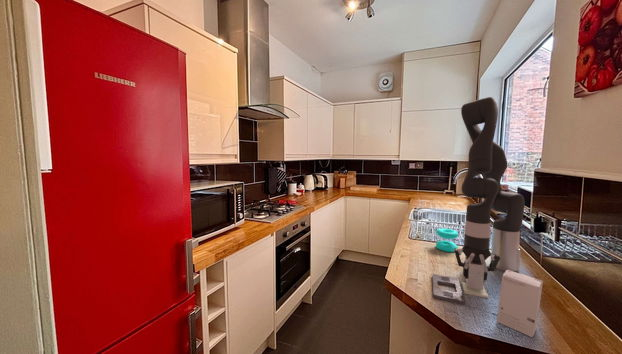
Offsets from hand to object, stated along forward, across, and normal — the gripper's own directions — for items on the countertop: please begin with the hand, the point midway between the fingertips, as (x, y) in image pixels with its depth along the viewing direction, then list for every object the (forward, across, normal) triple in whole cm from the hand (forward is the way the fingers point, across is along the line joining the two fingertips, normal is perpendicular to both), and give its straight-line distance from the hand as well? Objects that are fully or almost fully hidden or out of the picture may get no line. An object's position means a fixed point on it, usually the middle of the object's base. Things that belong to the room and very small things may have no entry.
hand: (474, 279), depth 87 cm
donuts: (+5, +6, -40) cm, 41 cm away
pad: (+4, 0, 0) cm, 4 cm away
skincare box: (+5, -8, +16) cm, 19 cm away
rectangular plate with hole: (+4, +9, +3) cm, 10 cm away
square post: (+3, 0, 0) cm, 3 cm away
